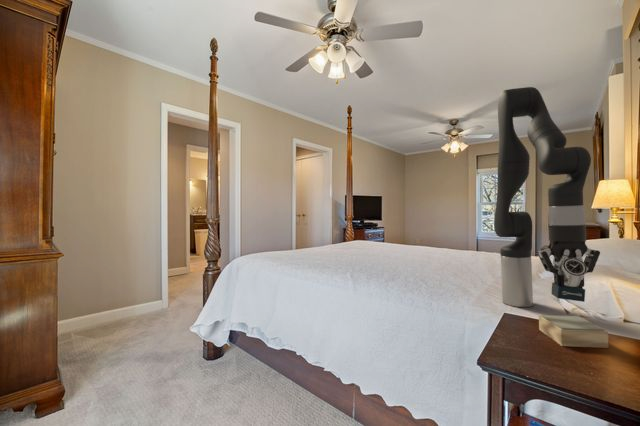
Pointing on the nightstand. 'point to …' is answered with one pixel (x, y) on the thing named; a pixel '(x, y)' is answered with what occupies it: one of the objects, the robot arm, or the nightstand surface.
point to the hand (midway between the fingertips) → (569, 288)
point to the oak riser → (573, 331)
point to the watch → (571, 281)
